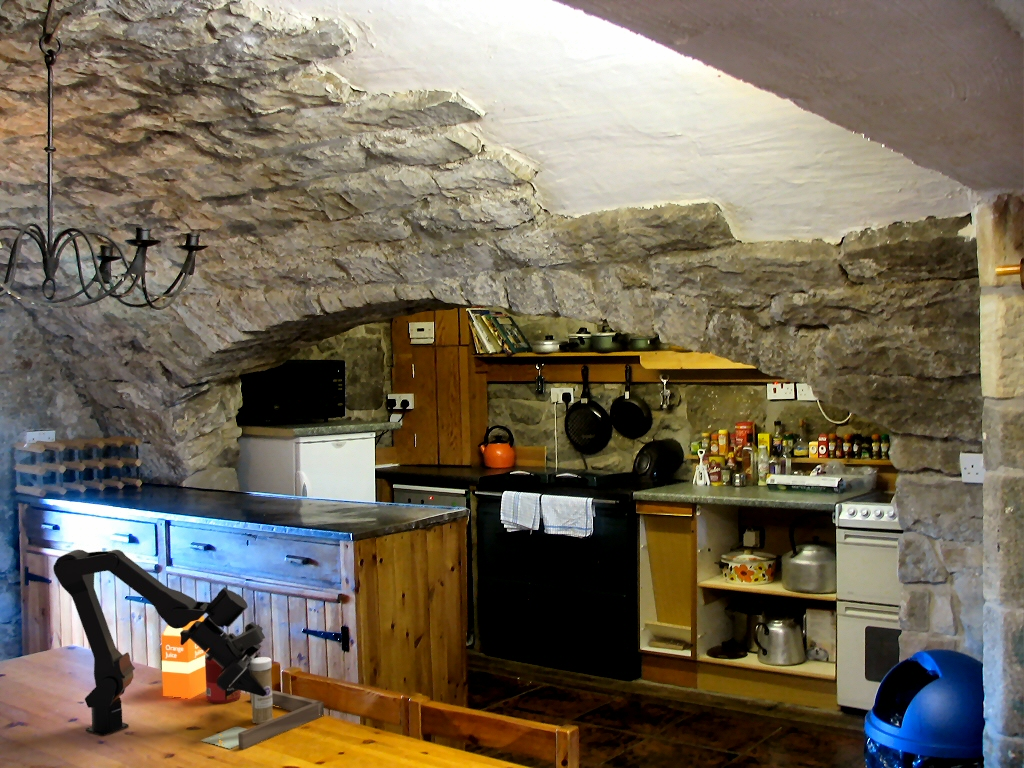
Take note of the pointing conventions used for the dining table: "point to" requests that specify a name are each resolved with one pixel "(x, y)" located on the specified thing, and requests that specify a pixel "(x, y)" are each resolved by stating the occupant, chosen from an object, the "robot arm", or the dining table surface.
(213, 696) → the canned food
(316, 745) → the dining table surface
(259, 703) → the sprinkles bottle
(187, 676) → the orange juice
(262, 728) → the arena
